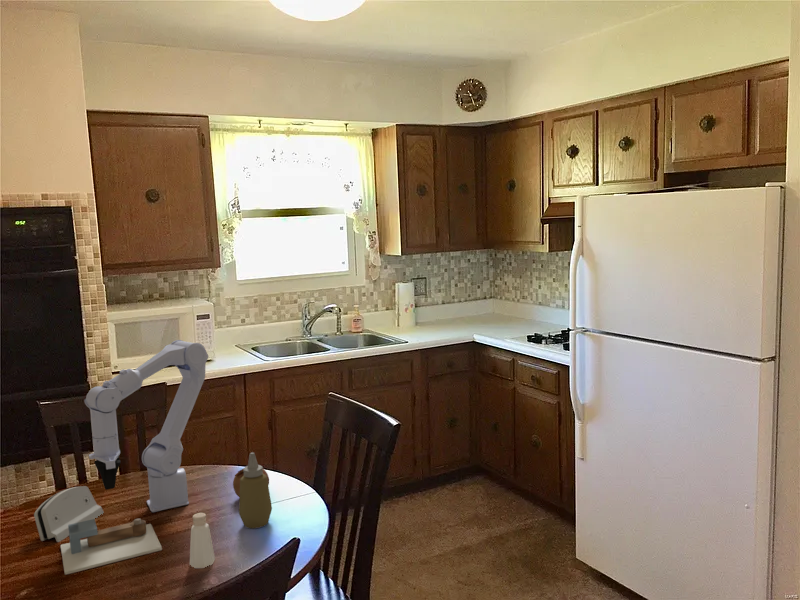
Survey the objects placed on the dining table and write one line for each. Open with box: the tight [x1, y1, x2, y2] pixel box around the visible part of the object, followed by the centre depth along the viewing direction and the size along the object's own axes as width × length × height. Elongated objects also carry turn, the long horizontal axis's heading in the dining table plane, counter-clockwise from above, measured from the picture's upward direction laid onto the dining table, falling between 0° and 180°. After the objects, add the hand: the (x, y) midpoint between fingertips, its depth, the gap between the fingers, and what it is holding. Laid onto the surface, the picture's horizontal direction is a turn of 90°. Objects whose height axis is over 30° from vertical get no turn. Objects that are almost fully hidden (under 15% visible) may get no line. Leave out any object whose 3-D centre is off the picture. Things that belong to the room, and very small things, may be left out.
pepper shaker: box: [189, 512, 216, 569], centre depth 147 cm, size 5×5×11 cm
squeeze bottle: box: [238, 452, 273, 529], centre depth 164 cm, size 8×8×18 cm
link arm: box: [86, 518, 147, 547], centre depth 158 cm, size 13×4×3 cm, turn 121°
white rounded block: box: [33, 485, 105, 543], centre depth 167 cm, size 17×5×10 cm, turn 165°
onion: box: [232, 467, 270, 498], centre depth 181 cm, size 10×9×10 cm
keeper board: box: [60, 519, 163, 576], centre depth 155 cm, size 20×14×6 cm
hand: (109, 488), depth 167 cm, fingers closed
